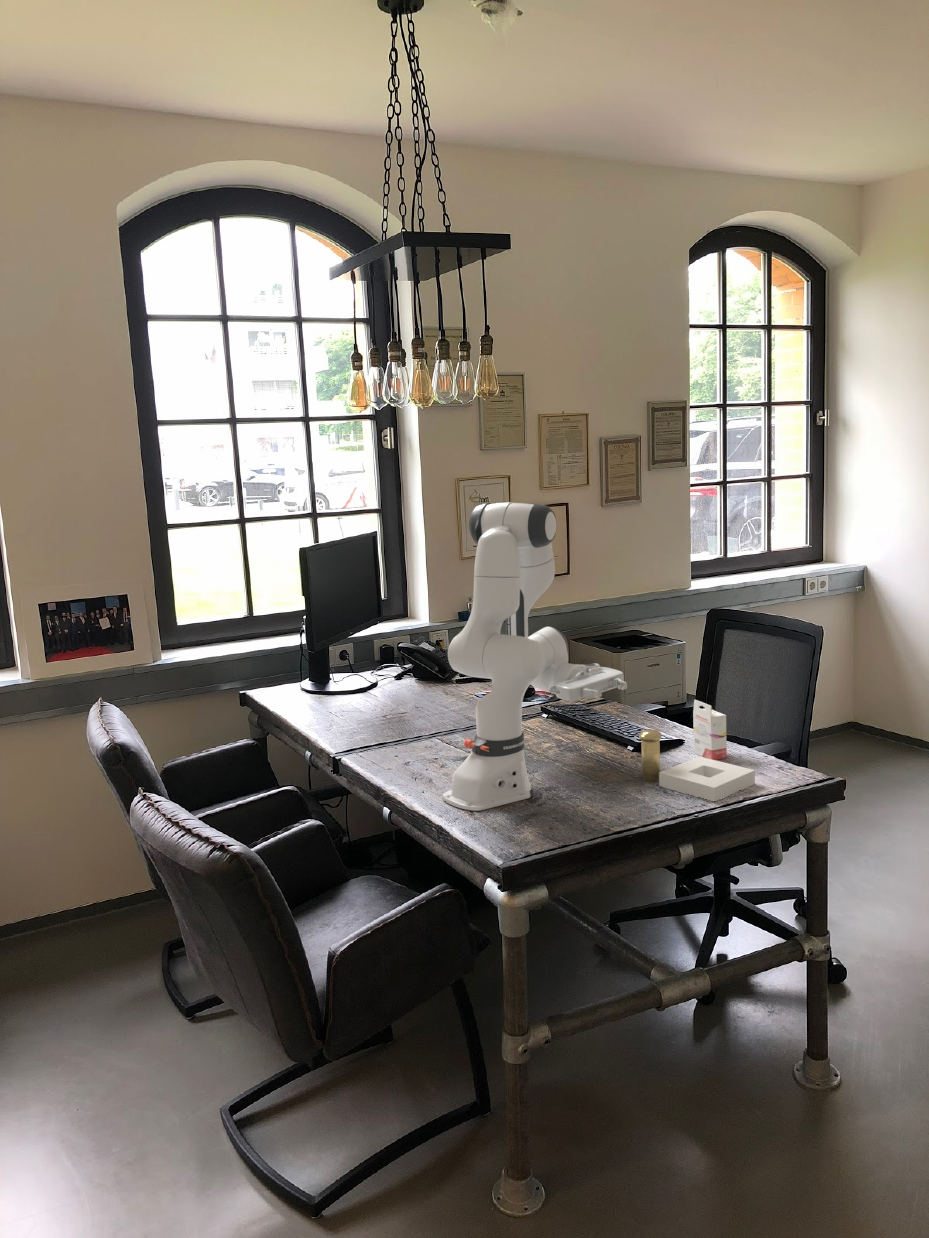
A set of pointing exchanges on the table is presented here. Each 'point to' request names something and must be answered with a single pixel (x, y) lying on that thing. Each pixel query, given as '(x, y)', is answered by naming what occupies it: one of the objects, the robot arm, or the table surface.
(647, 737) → the brass fitting
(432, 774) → the table surface
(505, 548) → the robot arm
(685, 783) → the socket block
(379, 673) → the table surface
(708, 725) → the ink cartridge box
